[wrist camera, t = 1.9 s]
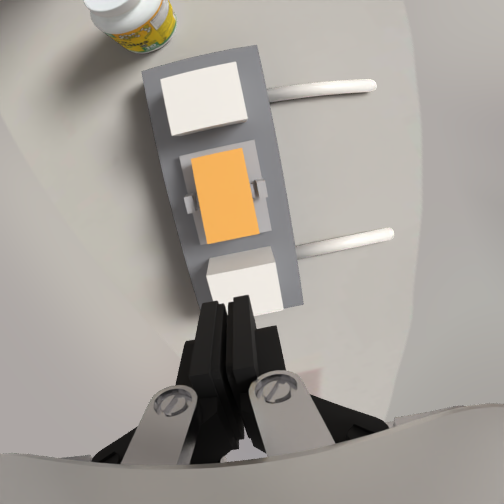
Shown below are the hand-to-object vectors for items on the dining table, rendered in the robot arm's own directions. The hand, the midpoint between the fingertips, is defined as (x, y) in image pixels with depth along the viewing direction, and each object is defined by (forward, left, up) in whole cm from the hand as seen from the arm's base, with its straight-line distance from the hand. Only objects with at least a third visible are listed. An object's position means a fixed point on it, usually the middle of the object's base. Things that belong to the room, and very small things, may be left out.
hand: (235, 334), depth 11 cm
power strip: (-3, +5, -18) cm, 19 cm away
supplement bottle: (-19, -4, -18) cm, 26 cm away
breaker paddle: (-3, 0, -13) cm, 13 cm away
